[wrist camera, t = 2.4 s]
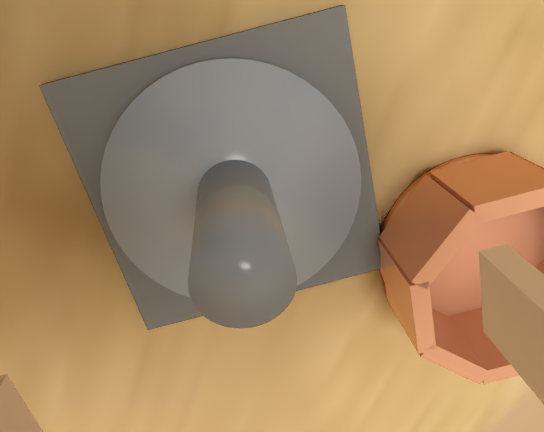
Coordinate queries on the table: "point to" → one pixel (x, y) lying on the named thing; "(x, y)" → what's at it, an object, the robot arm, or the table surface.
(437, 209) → the bowl
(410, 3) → the table surface
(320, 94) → the lid
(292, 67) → the mat
